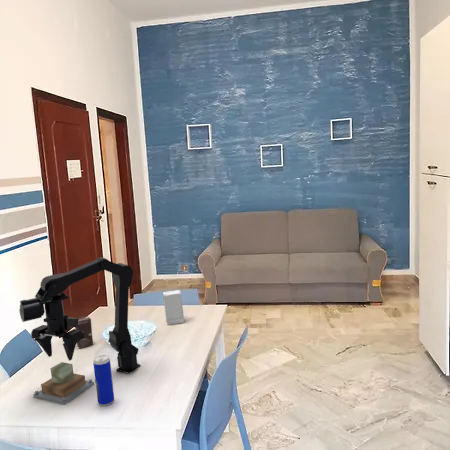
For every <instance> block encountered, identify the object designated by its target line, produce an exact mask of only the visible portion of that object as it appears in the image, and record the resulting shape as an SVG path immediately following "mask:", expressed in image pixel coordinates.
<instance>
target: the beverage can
mask: <svg viewBox="0 0 450 450" xmlns="http://www.w3.org/2000/svg"><path fill="white" fill-rule="evenodd" d="M111 367H112V366H111V358H110V356H109V355H107V354H101V355H98V356H95V357H94V358H93V371H94V372H93V373H94V379H95V380H94V383H95V390H96V398H97V400H96V401H97V403H98V405H100V406H109V405H111V404H112V403H113V402H114V400H115V393H114V386H113V383H114V382H113V376H112V368H111Z"/></svg>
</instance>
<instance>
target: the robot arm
mask: <svg viewBox="0 0 450 450" xmlns="http://www.w3.org/2000/svg"><path fill="white" fill-rule="evenodd" d="M102 271H106V272H109V273H111V277H112V282H113V284H114V287H115V298H114V299H115V300H114V301H115V302H114V305H115V307H114V327H113V328H112V330H109V331H108V341H107V342H108V343H109V345H110V346H111V348H113V349H114V350H115V351H116V352H117V367H118V368H117V369H116V370H115V371H116V372H120V373H125V374H126V373H127V374H131V373H133V372H135V371H136V370H137V369H138V368H140V366H141V364H139V363H138V358H137V357H138V353H139V348H138V347H137V346H135V345H134V344H132V337H131V333H130V330H129V328H128V325H129V321H128V320H129V293H130V292H129V291H130V287H131V285H132V283H133V280H134V275H135V274H134V273H135V271H134V269H133V267H131V266H130V265H128V264H125V263H122V262H118V263H115V262H114V261H110V260H109V259H107V258H105V257H101V256H100V257H98V258H96V259H95V260H93V261H90V262H87V263H85V264H83V265H81V266H78V267H75V268H73V269H71V270H68V271H67V272H66V271H65V272H62V273H56V274H52V275H47V276H45V277H43V278H42V279H41V282H40V284H39V285H40V287H39V289H38V291H37V292H36V293H35V296H34V298H29V299H23V300H20V301H19V303H20V304H19V309H18V311H19V316H20V318H21V322H23V323H25V322H28V321H33V320H36V319H37V320H38V319H41V318H42V316H44V314H45V318H43V320H42V321H43V323H46V324H42V325H39V326H37V327H35V328H33V329H32V330H31V332H30V334H31V339H34V341H36V342H37V344H38V345H39V346H40V347H41V348H42V350H43V352H44V353H45V354H46V355H47V357H48V358H51V357H52V356H53V350H52V349H53V347H52V339H53V337H56V338H61V339H62V342H63V343H62V346H63V350H64V352H65V355H66V357H67V360H68V361H72V360H73V357H74V352H75V349H76V346H77V342H79V341H80V340H81V339H83V338H84V332H83V331H82V330H76V329H75V328H78V321H79V319H78V317H77V318H76V317H69V316H68V314H65V311H64V303H63V301H65V300H68V299H70V298H69V296H68V295H66V294H65V293H64V292H65V291H66V290H68V288H69V287H70V286H72V285H74V284H75V283H78V282H79V281H82V280H84V279H87V278H89V277H90V276H93V275H95V274H98V273H99V272H102ZM71 328H73V329H71ZM68 330H69V331H68Z"/></svg>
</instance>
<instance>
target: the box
mask: <svg viewBox="0 0 450 450" xmlns="http://www.w3.org/2000/svg"><path fill="white" fill-rule="evenodd" d="M77 318H78V317H77ZM78 319H79V321H78V328H75V327H74V329H76V330H82V331H83V332H84V338H83V339H81V340H80V341H79V342H77V344H76V346H77V348H78V349H82V348H83V349H84V348H87V347H90V346H94V341H93V340H94V339H93V329H92V319H91V318H90V316H88V315H87V316H84V317H83V316H82V317H79V318H78Z"/></svg>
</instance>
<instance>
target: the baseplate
mask: <svg viewBox="0 0 450 450" xmlns="http://www.w3.org/2000/svg"><path fill="white" fill-rule="evenodd" d="M85 382H86V384H84V385H83V386H81V387H80V388H78V389H77V390H75V391H74V392H72V393H71V394H69V395H68V396H66V397H58V396H54V395H49V394H45V393H42V389H40V390H34V393H33V394H32V395H33V398H34V399H38V400H43V401H46V402H51V403H56V404H60V405H63V406H65V405H67V404H68V403H70V402H71V401H73V400H75V398H77V397H79V395H81V394H83V393H84V392H86V391H87V390H89V389H91V387H93V386H94V385H95V381H93V379H89V380H86V379H85Z"/></svg>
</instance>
